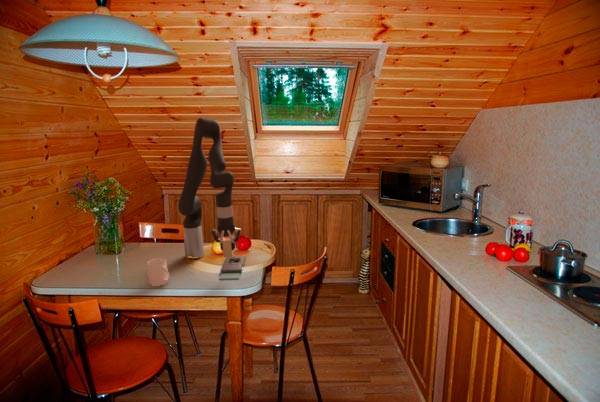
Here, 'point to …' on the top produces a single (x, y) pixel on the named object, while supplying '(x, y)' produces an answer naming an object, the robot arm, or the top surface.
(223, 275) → the pad
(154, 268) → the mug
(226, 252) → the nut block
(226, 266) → the rail plate
